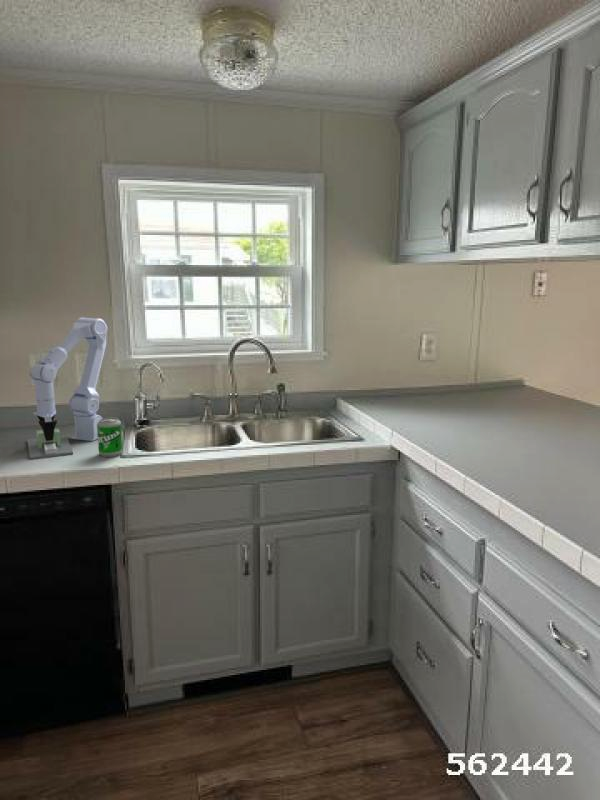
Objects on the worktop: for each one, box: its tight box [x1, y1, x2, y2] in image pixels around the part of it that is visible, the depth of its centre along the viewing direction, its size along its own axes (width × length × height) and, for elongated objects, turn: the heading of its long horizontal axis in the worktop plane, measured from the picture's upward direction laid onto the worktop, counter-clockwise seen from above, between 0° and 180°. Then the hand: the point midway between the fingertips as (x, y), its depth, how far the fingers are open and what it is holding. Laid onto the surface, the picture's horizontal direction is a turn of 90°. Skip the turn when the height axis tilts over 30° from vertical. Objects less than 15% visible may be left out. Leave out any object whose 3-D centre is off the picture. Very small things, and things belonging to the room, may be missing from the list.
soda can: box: [97, 417, 123, 458], centre depth 182 cm, size 8×8×12 cm
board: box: [26, 435, 74, 460], centre depth 189 cm, size 13×22×2 cm, turn 28°
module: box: [36, 428, 61, 449], centre depth 189 cm, size 7×5×6 cm
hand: (48, 437), depth 189 cm, fingers open, 7 cm apart
